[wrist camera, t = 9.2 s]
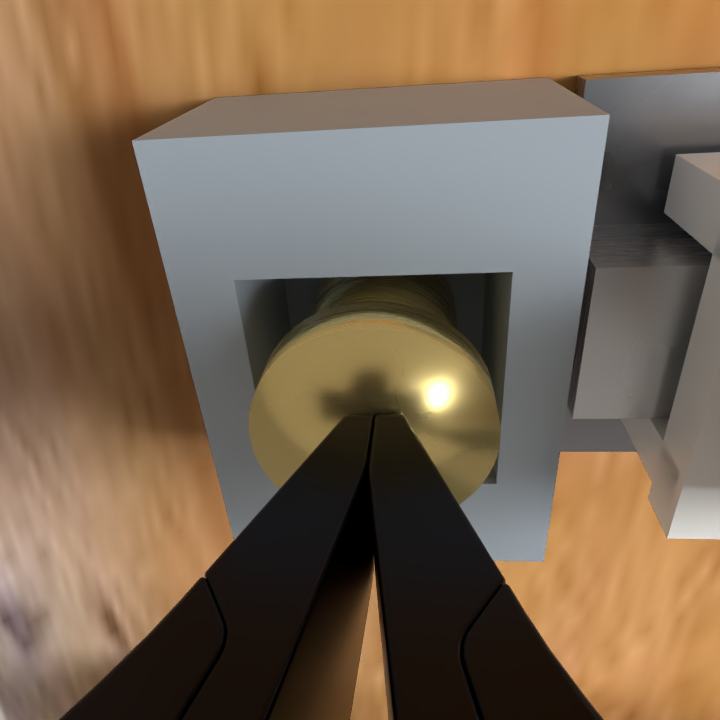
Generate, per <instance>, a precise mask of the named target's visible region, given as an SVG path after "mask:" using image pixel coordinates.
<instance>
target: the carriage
mask: <svg viewBox="0 0 720 720" xmlns="http://www.w3.org/2000/svg"><path fill="white" fill-rule="evenodd" d="M664 213H665V214H666V215H668V216H669V217H670V218H671V219H672V220H673V221H675V222H676V223H677V224H678V225H679V226H680V227H682V228H683V229H684V230H685V231H686V232H687V233H689V234H690V235H691V236H692V237H693V238H694V239H696V240H697V241H698V242H699V243H700V244H701V245H703V246H704V247H705V248H706V249H707V250H708V251H709V252H711V253H712V254H713V255H712V258H711V262H710V266H709V270H708V274H707V277H706V281H705V285H704V289H703V292H702V296H701V300H700V304H699V308H698V311H697V315H696V319H695V323H694V326H693V330H692V334H691V338H690V342H689V345H688V349H687V353H686V357H685V361H684V364H683V368H682V372H681V376H680V379H679V383H678V387H677V391H676V395H675V398H674V402H673V406H672V410H671V413H670V417H669V418H649V419H621V420H622V422H623V424H624V426H625V428H626V430H627V432H628V434H629V437H630V439H631V441H632V443H633V445H634V447H635V449H636V451H637V453H638V455H639V457H640V459H641V461H642V463H643V465H644V467H645V469H646V471H647V473H648V475H649V477H650V479H651V481H652V485H651V489H650V493H649V497H648V499H649V501H650V503H651V505H652V507H653V509H654V511H655V513H656V516H657V518H658V520H659V522H660V524H661V526H662V528H663V531H664V533H665V535H666V537H667V538H676V539H720V152H713V153H692V154H676V157H675V162H674V167H673V171H672V176H671V181H670V186H669V190H668V195H667V200H666V205H665V209H664Z"/></svg>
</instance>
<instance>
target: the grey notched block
mask: <svg viewBox="0 0 720 720" xmlns="http://www.w3.org/2000/svg"><path fill="white" fill-rule="evenodd" d="M609 117H610V114H608V113H606V112H605V111H603V110H601V109H600V108H598V107H596V106H595V105H593V104H591V103H590V102H588V101H586V100H585V99H583V98H581V97H580V96H578V95H576V94H575V93H573V92H571V91H570V90H568V89H566V88H565V87H563V86H561V85H560V84H558V83H556V82H555V81H553V80H551V79H550V78H548V77H547V78H531V79H514V80H498V81H481V82H465V83H449V84H432V85H416V86H399V87H383V88H367V89H350V90H334V91H317V92H301V93H285V94H268V95H252V96H235V97H219V98H214V99H212V100H210V101H208V102H206V103H204V104H202V105H200V106H198V107H196V108H194V109H192V110H190V111H188V112H186V113H184V114H183V115H181V116H179V117H177V118H175V119H173V120H171V121H169V122H167V123H165V124H163V125H161V126H159V127H157V128H155V129H153V130H152V131H150V132H148V133H146V134H144V135H142V136H140V137H138V138H136V139H134V140H132V144H133V148H134V151H135V155H136V159H137V163H138V167H139V171H140V175H141V179H142V183H143V187H144V190H145V194H146V198H147V202H148V206H149V210H150V214H151V218H152V222H153V226H154V230H155V233H156V237H157V241H158V245H159V249H160V253H161V257H162V261H163V265H164V269H165V272H166V276H167V280H168V284H169V288H170V292H171V296H172V300H173V304H174V308H175V311H176V315H177V319H178V323H179V327H180V331H181V335H182V339H183V343H184V347H185V350H186V354H187V358H188V362H189V366H190V370H191V374H192V378H193V382H194V386H195V389H196V393H197V397H198V401H199V405H200V409H201V413H202V417H203V421H204V425H205V428H206V432H207V436H208V440H209V444H210V448H211V452H212V456H213V460H214V464H215V467H216V471H217V475H218V479H219V483H220V487H221V491H222V495H223V499H224V503H225V507H226V510H227V514H228V518H229V522H230V526H231V530H232V534H233V538H234V540H235V539H236V537H237V536H238V535H239V534H240V533H241V532H242V531H243V530H244V528H245V527H246V526H247V525H248V524H249V523H250V522H251V521H252V519H253V518H254V517H255V516H256V515H257V514H258V513H259V512H260V510H261V509H262V508H263V507H264V506H265V505H266V504H267V503H268V501H269V500H270V499H271V498H272V497H273V496H274V495H275V494H276V492H277V491H278V490H279V488H278V487H277V486H276V485H275V484H274V483H273V482H272V481H271V480H270V478H269V477H268V476H267V475H266V473H265V472H264V470H263V469H262V467H261V466H260V464H259V462H258V460H257V458H256V456H255V453H254V451H253V448H252V444H251V441H250V434H249V411H250V407H251V402H252V399H253V396H254V394H255V391H256V389H257V386H258V384H259V381H260V379H261V376H262V374H263V371H264V368H265V366H266V363H267V361H268V358H269V357H270V355H271V353H272V352H273V350H274V348H275V346H276V345H277V344H278V343H279V342H280V340H281V339H282V338H283V337H284V336H285V335H286V334H287V333H288V332H289V331H290V330H291V329H292V328H294V327H295V326H296V325H298V324H299V323H300V322H302V321H303V320H305V319H306V318H308V317H309V315H310V312H311V309H312V306H313V303H314V300H315V297H316V293H317V291H318V289H319V286H320V284H321V283H322V281H323V279H324V278H325V277H358V276H392V275H426V274H440V275H441V276H442V278H443V279H444V280H445V282H446V283H447V285H448V287H449V289H450V291H451V294H452V297H453V301H454V306H455V313H456V320H457V327H458V331H460V332H461V333H462V334H463V335H464V336H465V337H466V338H467V339H468V340H469V341H470V342H471V343H472V344H473V346H474V347H475V348H476V350H477V351H478V352H479V354H480V355H481V357H482V359H483V361H484V363H485V364H486V366H487V369H488V371H489V374H490V377H491V380H492V385H493V390H494V395H495V400H496V404H497V409H498V414H499V420H500V426H501V439H500V446H499V452H498V455H497V458H496V461H495V463H494V466H493V467H492V469H491V471H490V473H489V475H488V476H487V478H486V479H485V481H484V482H483V483H482V485H481V486H480V487H479V488H478V489H477V490H476V491H475V492H474V493H473V494H472V495H471V496H470V497H469V498H467V499H466V500H465V501H463V502H462V503H461V504H459V505H460V507H461V508H462V510H463V512H464V513H465V515H466V517H467V518H468V520H469V522H470V523H471V525H472V526H473V528H474V530H475V531H476V533H477V535H478V536H479V538H480V539H481V541H482V543H483V544H484V546H485V548H486V549H487V551H488V553H489V554H490V556H491V557H492V559H493V561H539V562H544V557H545V550H546V543H547V536H548V530H549V523H550V516H551V509H552V503H553V496H554V489H555V482H556V476H557V469H558V462H559V455H560V449H561V442H562V435H563V428H564V422H565V415H566V408H567V401H568V394H569V388H570V381H571V374H572V367H573V361H574V354H575V347H576V340H577V334H578V327H579V320H580V313H581V307H582V300H583V293H584V286H585V280H586V273H587V266H588V259H589V253H590V246H591V239H592V232H593V226H594V219H595V212H596V205H597V198H598V192H599V185H600V178H601V171H602V165H603V158H604V151H605V144H606V138H607V131H608V124H609Z"/></svg>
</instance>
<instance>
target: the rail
mask: <svg viewBox="0 0 720 720" xmlns="http://www.w3.org/2000/svg"><path fill="white" fill-rule="evenodd" d="M575 94H576V95H578V96H580V97H581V98H583V99H585V100H586V101H588V102H590V103H591V104H593V105H595V106H596V107H598V108H600V109H601V110H603V111H605V112H606V113H608V114H610V117H609V124H608V131H607V138H606V144H605V151H604V158H603V165H602V171H601V178H600V185H599V192H598V198H597V205H596V212H595V219H594V226H593V232H592V239H591V246H590V253H589V259H588V266H587V273H586V280H585V286H584V293H583V300H582V307H581V313H580V320H579V327H578V334H577V340H576V347H575V354H574V361H573V367H572V374H571V381H570V388H569V394H568V401H567V408H566V415H565V422H564V428H563V435H562V442H561V449H560V451H563V452H637V451H636V449H635V447H634V445H633V443H632V441H631V439H630V437H629V434H628V432H627V430H626V428H625V426H624V424H623V422H622V420H621V419H649V418H669V417H670V413H671V410H672V406H673V402H674V398H675V395H676V391H677V387H678V383H679V379H680V376H681V372H682V368H683V364H684V361H685V357H686V353H687V349H688V345H689V342H690V338H691V334H692V330H693V326H694V323H695V319H696V315H697V311H698V308H699V304H700V300H701V296H702V292H703V289H704V285H705V281H706V277H707V274H708V270H709V266H710V262H711V258H712V255H713V254H712V253H711V252H709V251H708V250H707V249H706V248H705V247H704V246H703V245H701V244H700V243H699V242H698V241H697V240H696V239H694V238H693V237H692V236H691V235H690V234H689V233H687V232H686V231H685V230H684V229H683V228H682V227H680V226H679V225H678V224H677V223H676V222H675V221H673V220H672V219H671V218H670V217H669V216H668V215H666V214H665V213H664V209H665V205H666V200H667V195H668V190H669V186H670V181H671V176H672V171H673V167H674V162H675V157H676V154H692V153H713V152H720V67H711V68H695V69H678V70H662V71H645V72H629V73H613V74H596V75H580V76H577V83H576V92H575Z"/></svg>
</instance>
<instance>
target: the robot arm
mask: <svg viewBox="0 0 720 720" xmlns="http://www.w3.org/2000/svg"><path fill="white" fill-rule="evenodd" d="M374 563H375V576H376V588H377V599H378V610H379V621H380V631H381V642H382V653H383V664H384V675H385V685H386V696H387V707H388V718H389V720H603V718H602V717H601V716H600V715H599V713H598V712H597V711H596V709H595V708H594V707H593V706H592V704H591V703H590V702H589V701H588V699H587V698H586V697H585V696H584V694H583V693H582V692H581V690H580V689H579V688H578V686H577V685H576V684H575V682H574V681H573V679H572V678H571V677H570V675H569V674H568V673H567V671H566V670H565V669H564V667H563V666H562V665H561V663H560V662H559V661H558V659H557V658H556V657H555V655H554V654H553V653H552V651H551V650H550V649H549V647H548V646H547V644H546V642H545V641H544V639H543V638H542V636H541V635H540V633H539V632H538V630H537V629H536V627H535V626H534V624H533V623H532V621H531V620H530V618H529V617H528V615H527V614H526V612H525V611H524V609H523V607H522V606H521V604H520V602H519V601H518V599H517V598H516V596H515V594H514V593H513V591H512V589H511V588H510V586H509V585H507V584H506V582H505V579H504V577H503V575H502V574H501V572H500V570H499V569H498V567H497V566H496V564H495V562H494V561H493V559H492V557H491V556H490V554H489V553H488V551H487V549H486V548H485V546H484V544H483V543H482V541H481V539H480V538H479V536H478V535H477V533H476V531H475V530H474V528H473V526H472V525H471V523H470V522H469V520H468V518H467V517H466V515H465V513H464V512H463V510H462V508H461V507H460V505H459V504H458V502H457V500H456V499H455V497H454V495H453V494H452V492H451V491H450V489H449V487H448V486H447V484H446V482H445V481H444V479H443V477H442V476H441V474H440V473H439V471H438V469H437V468H436V466H435V464H434V463H433V461H432V460H431V458H430V456H429V455H428V453H427V451H426V450H425V448H424V446H423V445H422V443H421V442H420V440H419V438H418V437H417V435H416V433H415V432H414V430H413V429H412V427H411V425H410V424H409V422H408V420H407V419H406V417H405V416H404V415H401V414H380V415H377V416H376V417H375V419H374V417H373V416H372V415H369V414H357V415H346V416H344V417H343V418H342V419H341V420H340V421H339V423H338V424H337V425H336V426H335V427H334V428H333V429H332V430H331V432H330V433H329V434H328V435H327V436H326V437H325V438H324V439H323V441H322V442H321V443H320V444H319V445H318V446H317V447H316V448H315V450H314V451H313V452H312V453H311V454H310V455H309V456H308V457H307V459H306V460H305V461H304V462H303V463H302V464H301V465H300V466H299V468H298V469H297V470H296V471H295V472H294V473H293V474H292V475H291V477H290V478H289V479H288V480H287V481H286V482H285V483H284V485H283V486H282V487H281V488H280V489H279V490H278V491H277V492H276V494H275V495H274V496H273V497H272V498H271V499H270V500H269V501H268V503H267V504H266V505H265V506H264V507H263V508H262V509H261V510H260V512H259V513H258V514H257V515H256V516H255V517H254V518H253V519H252V521H251V522H250V523H249V524H248V525H247V526H246V527H245V528H244V530H243V531H242V532H241V533H240V534H239V535H238V536H237V537H236V539H235V540H234V541H233V542H232V543H231V544H230V545H229V546H228V548H227V549H226V550H225V551H224V552H223V553H222V554H221V555H220V557H219V558H218V559H217V560H216V561H215V562H214V563H213V564H212V566H211V567H210V568H209V569H208V570H207V571H206V572H205V578H204V577H202V578H200V579H199V580H198V581H197V582H196V583H195V584H194V586H193V587H192V588H191V589H190V590H189V591H188V592H187V593H186V595H185V596H184V597H183V598H182V599H181V600H180V601H179V602H178V603H177V604H176V605H175V607H174V608H173V609H172V610H171V611H170V612H169V613H168V614H167V615H166V616H165V617H164V618H163V619H162V620H161V621H160V623H159V624H158V625H157V626H156V627H155V628H154V629H153V630H152V631H151V632H150V633H149V634H148V635H147V636H146V637H145V638H144V639H143V640H142V641H141V642H140V643H139V644H138V645H137V646H136V647H135V648H134V649H133V650H132V651H131V652H130V653H129V654H128V655H127V656H126V657H125V658H124V659H123V660H122V661H121V662H120V663H119V664H118V665H117V666H116V667H115V668H113V669H112V670H111V671H110V672H109V673H108V674H107V675H106V676H105V677H104V678H103V679H102V680H101V681H100V682H99V683H98V684H97V685H96V686H94V687H93V688H92V689H91V690H90V691H89V692H88V693H87V694H86V695H85V696H84V697H83V698H82V699H81V700H79V701H78V702H77V703H76V704H75V705H74V706H73V707H72V708H71V709H70V710H69V711H68V712H67V713H66V714H64V715H63V716H62V717H61V718H60V719H59V720H350V716H351V710H352V704H353V698H354V692H355V686H356V680H357V673H358V667H359V661H360V655H361V649H362V643H363V637H364V630H365V624H366V618H367V612H368V606H369V600H370V594H371V587H372V580H373V572H374Z"/></svg>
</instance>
